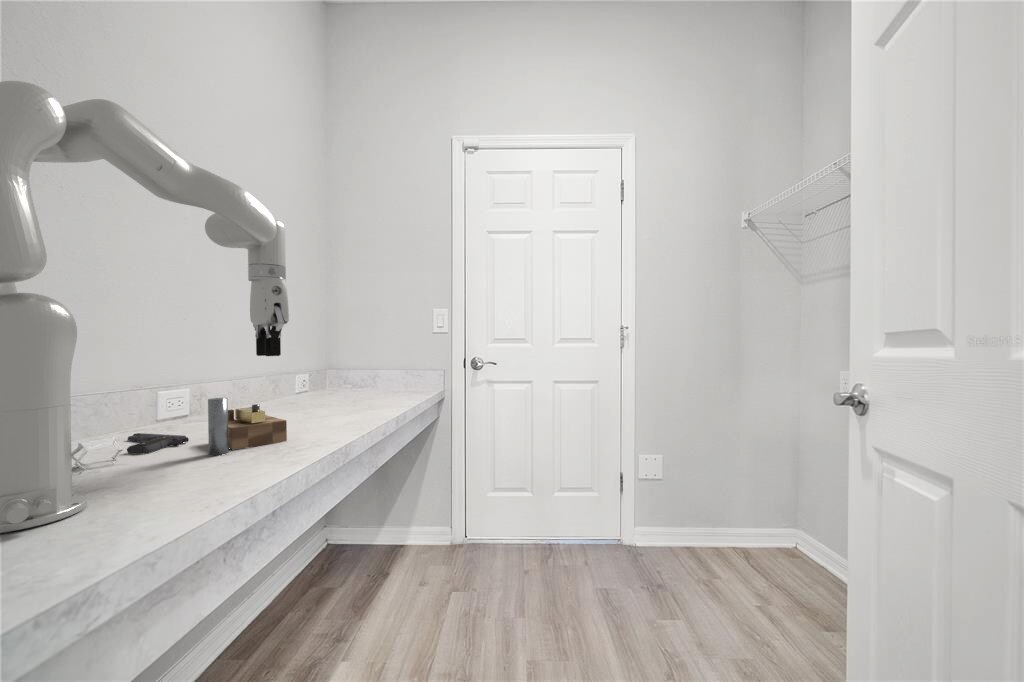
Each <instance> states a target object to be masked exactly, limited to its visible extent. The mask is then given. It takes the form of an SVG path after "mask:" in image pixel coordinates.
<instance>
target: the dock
mask: <svg viewBox="0 0 1024 682" xmlns="http://www.w3.org/2000/svg"><path fill="white" fill-rule="evenodd" d="M248 407H249V406H248ZM249 408H252V406H250V407H249ZM287 433H288V431H287V420H286V419H283V418H278V417H274V416H270V415H266V414H265V422H257V423H249V422H245V421H242V420H238V419H235V410H234V409H228V448H230V449H232V450H231V451H234V450H233V449H237V450H241V449H240V448H243V449H247V448H246V447H249V448H252V447H251V446H254V447H259V446H258V445H260V446H265V444H266V445H271V444H276V443H283V442H286V441H287V440H288V438H287V437H288V436H287ZM230 449H229V450H230Z"/></svg>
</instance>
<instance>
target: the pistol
mask: <svg viewBox="0 0 1024 682" xmlns="http://www.w3.org/2000/svg"><path fill="white" fill-rule="evenodd" d="M128 440H134V441H133V442H137V441H139V442H138V443H136V444H133V445H132V444H131V445H129V446H128V447H127V448H126V452H127V454H129V453H147V454H149V452H150V453H153V452H156V451H159V450H161V449H160V448H162V449H164V448H163V447H165V448H167V447H166V446H170V445H176V446H179V445H181V446H182V445H183V444H184V443H183V442H186V443H188V442H189V441H190V440H189V437H187V436H186V435H181V434H180V435H179V434H178V435H176V434H159V433H142V432H138V433H133V435H129V436H128V437H127V441H128ZM170 447H171V446H170ZM158 449H159V450H158ZM155 450H156V451H155ZM152 451H153V452H152Z"/></svg>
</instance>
